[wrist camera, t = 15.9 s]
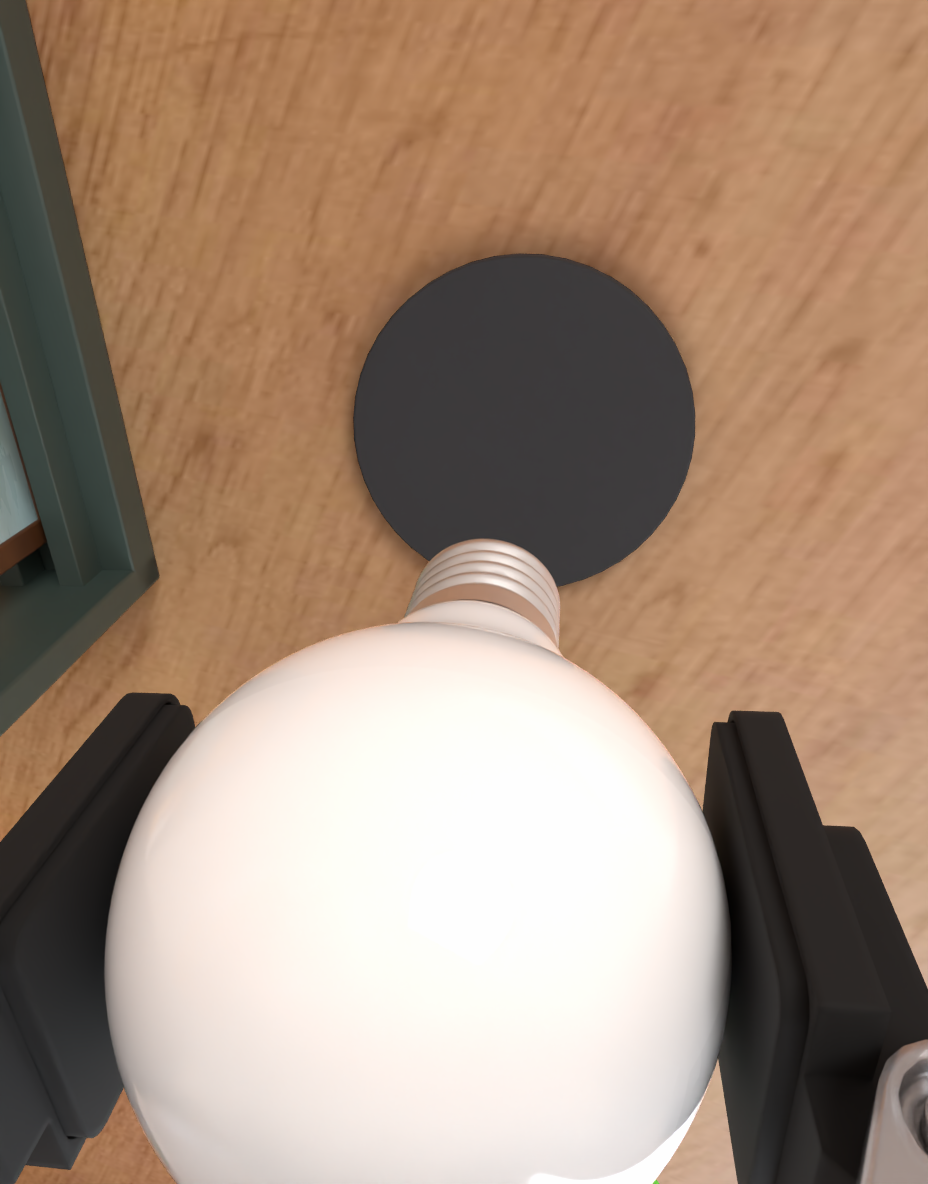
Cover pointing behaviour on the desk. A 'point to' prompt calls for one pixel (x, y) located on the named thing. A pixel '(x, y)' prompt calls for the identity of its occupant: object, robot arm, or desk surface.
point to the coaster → (525, 414)
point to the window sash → (15, 499)
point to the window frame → (56, 403)
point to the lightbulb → (421, 913)
